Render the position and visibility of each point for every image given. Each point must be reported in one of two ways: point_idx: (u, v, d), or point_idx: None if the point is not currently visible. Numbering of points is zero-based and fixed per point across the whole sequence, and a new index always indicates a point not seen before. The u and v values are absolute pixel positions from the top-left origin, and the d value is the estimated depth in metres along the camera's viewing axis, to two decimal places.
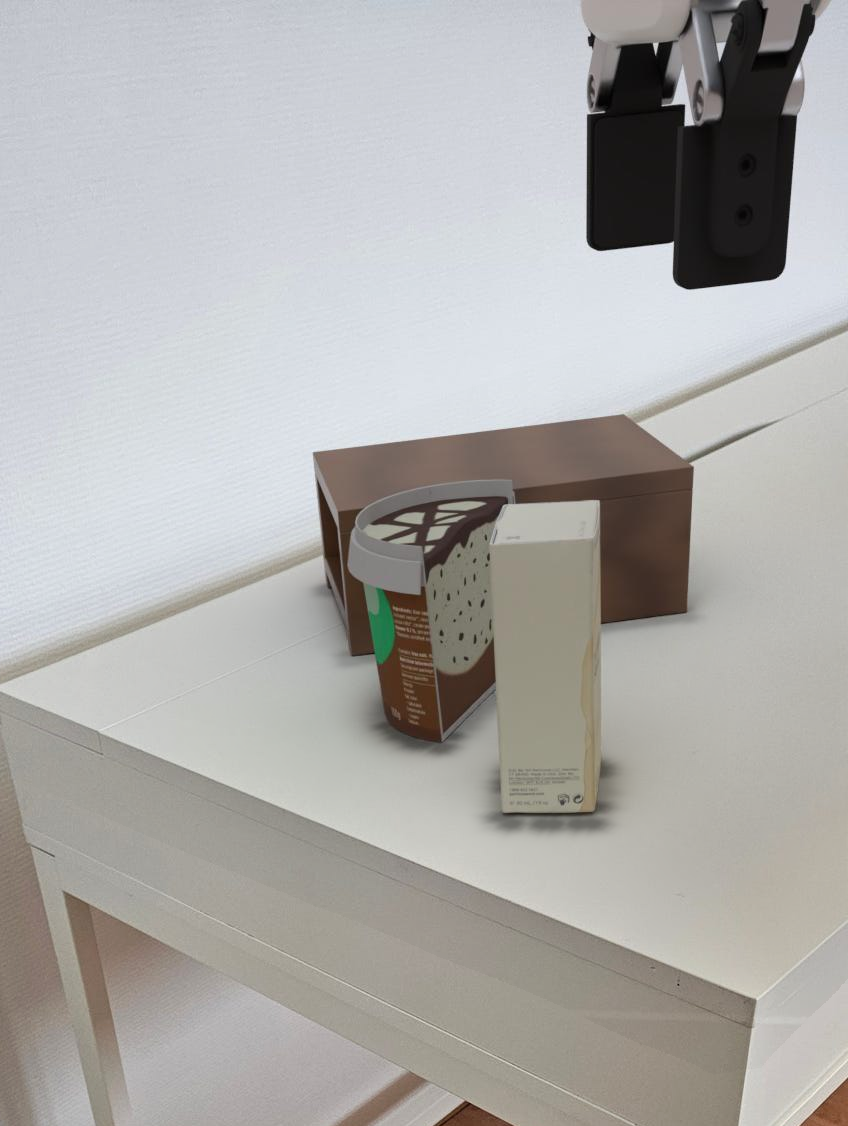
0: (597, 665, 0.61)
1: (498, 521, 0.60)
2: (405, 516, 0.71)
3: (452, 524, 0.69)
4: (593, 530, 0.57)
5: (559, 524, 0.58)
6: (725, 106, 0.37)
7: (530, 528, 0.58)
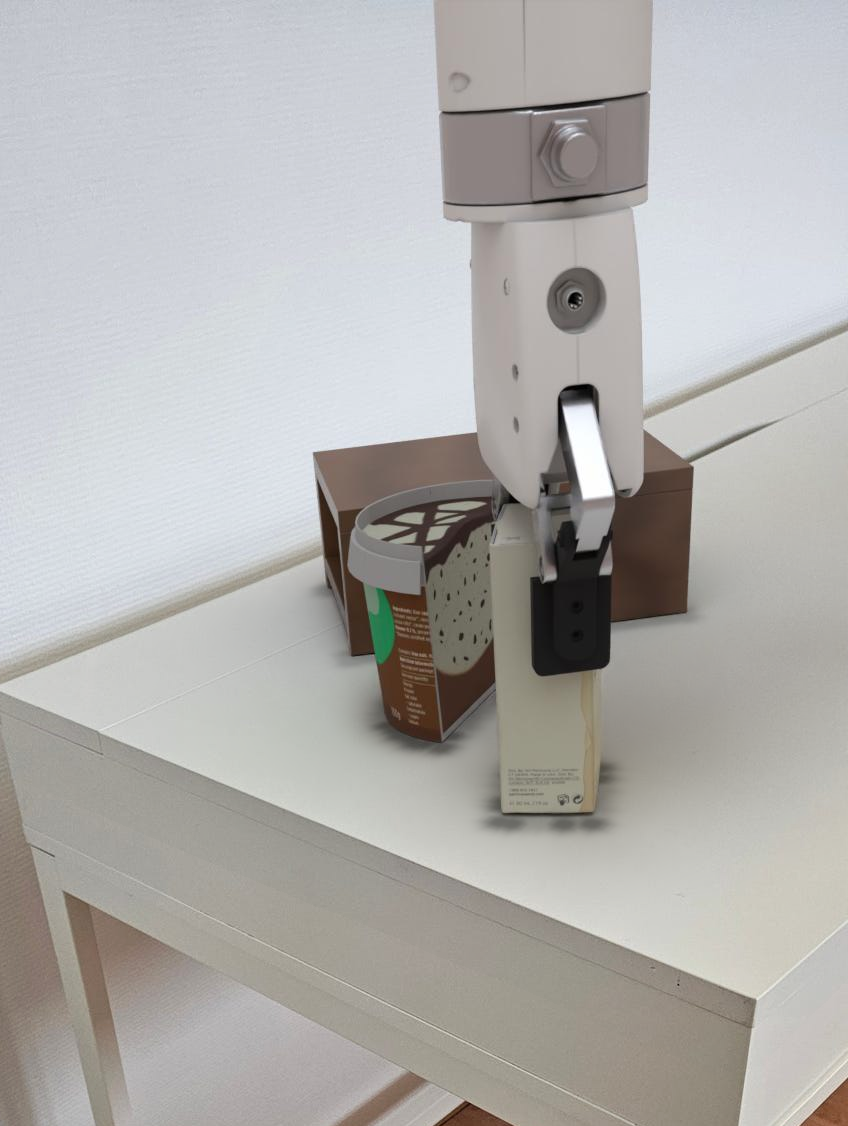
0: None
1: (498, 521, 0.59)
2: (405, 516, 0.71)
3: (452, 524, 0.69)
4: None
5: (559, 524, 0.58)
6: (558, 575, 0.55)
7: (530, 528, 0.58)
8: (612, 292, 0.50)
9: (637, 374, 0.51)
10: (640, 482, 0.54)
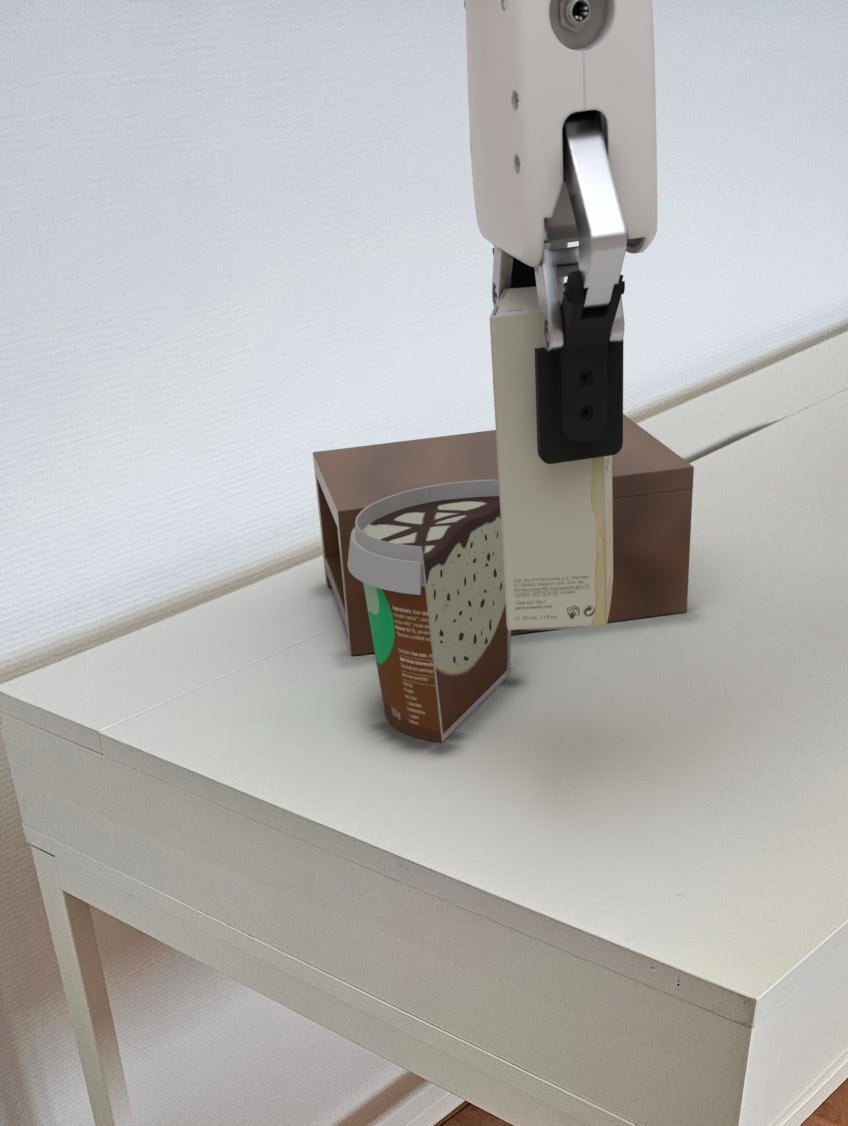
0: (608, 461, 0.57)
1: (499, 300, 0.55)
2: (405, 516, 0.71)
3: (452, 524, 0.69)
4: None
5: None
6: (565, 339, 0.50)
7: (534, 302, 0.53)
8: None
9: (650, 99, 0.47)
10: (653, 230, 0.49)
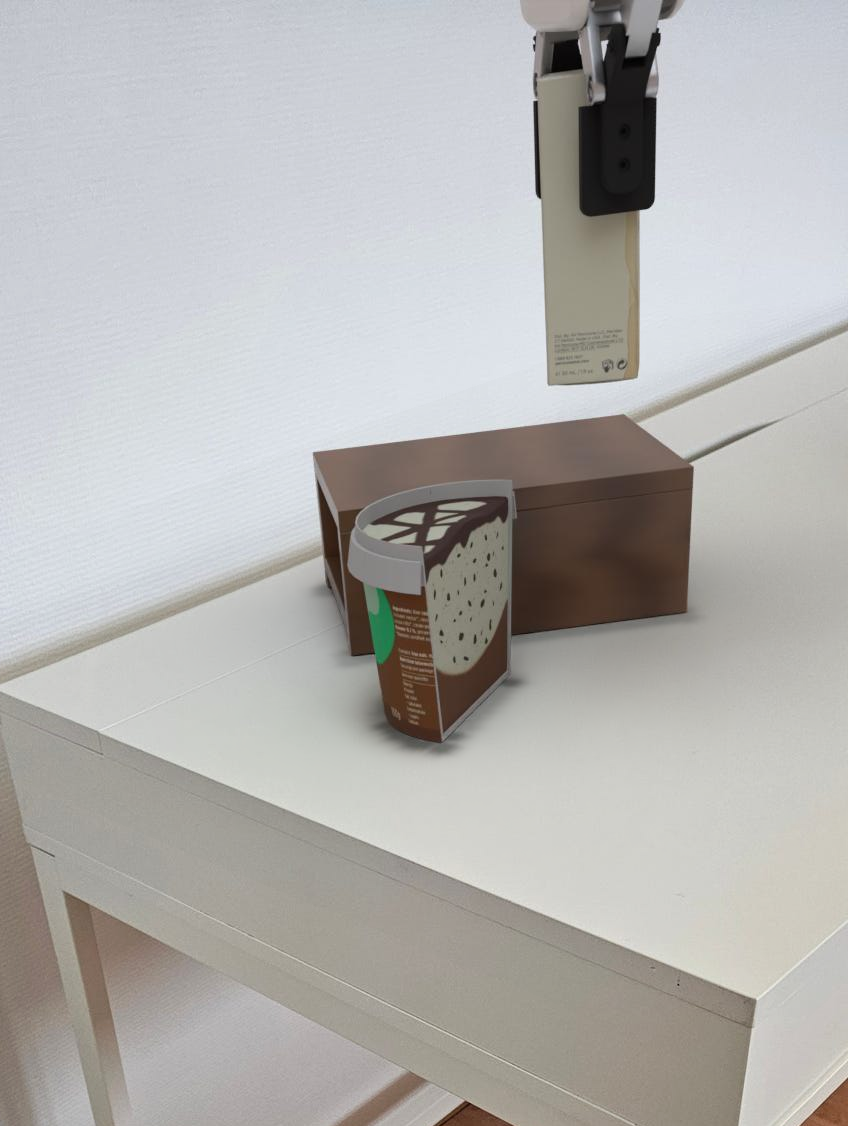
0: None
1: None
2: (405, 516, 0.71)
3: (452, 524, 0.69)
4: None
5: None
6: (607, 92, 0.57)
7: (575, 73, 0.60)
8: None
9: None
10: None
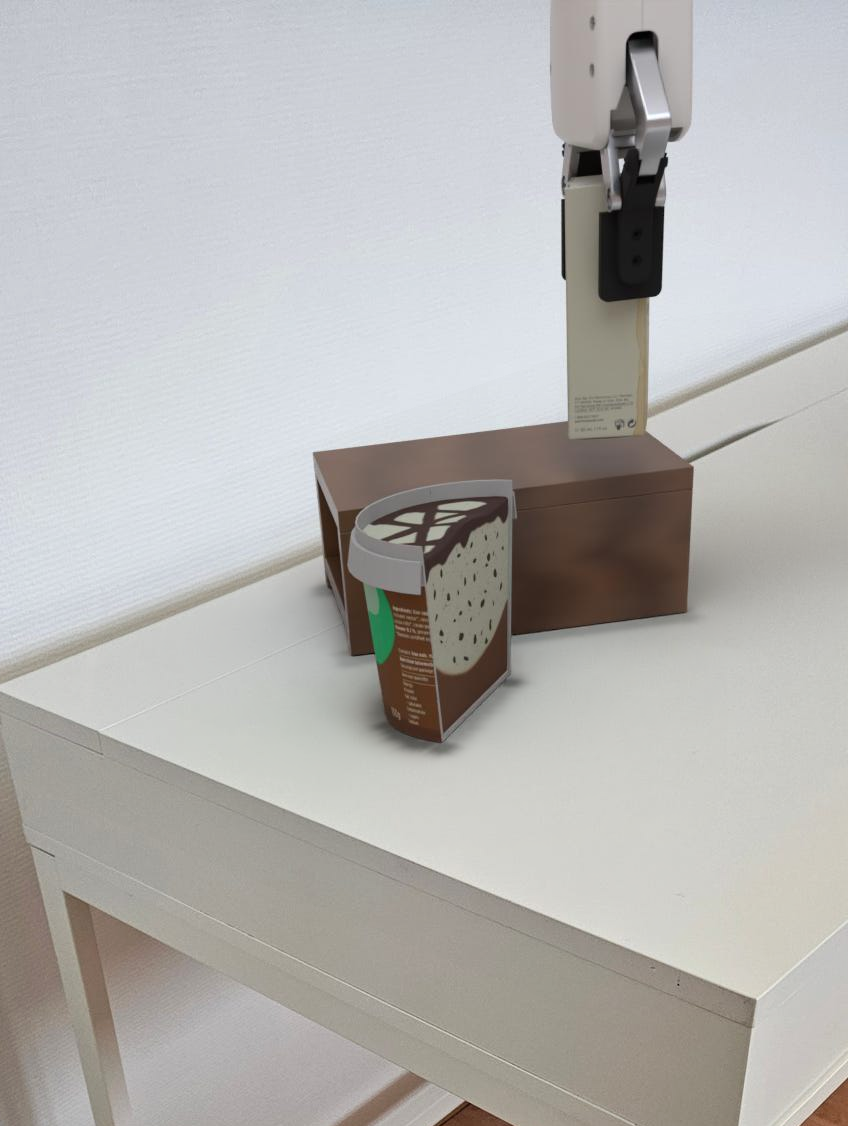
0: (648, 307, 0.75)
1: (569, 182, 0.73)
2: (405, 516, 0.71)
3: (452, 524, 0.69)
4: None
5: None
6: (623, 202, 0.69)
7: (596, 181, 0.72)
8: None
9: (688, 24, 0.65)
10: (688, 122, 0.67)
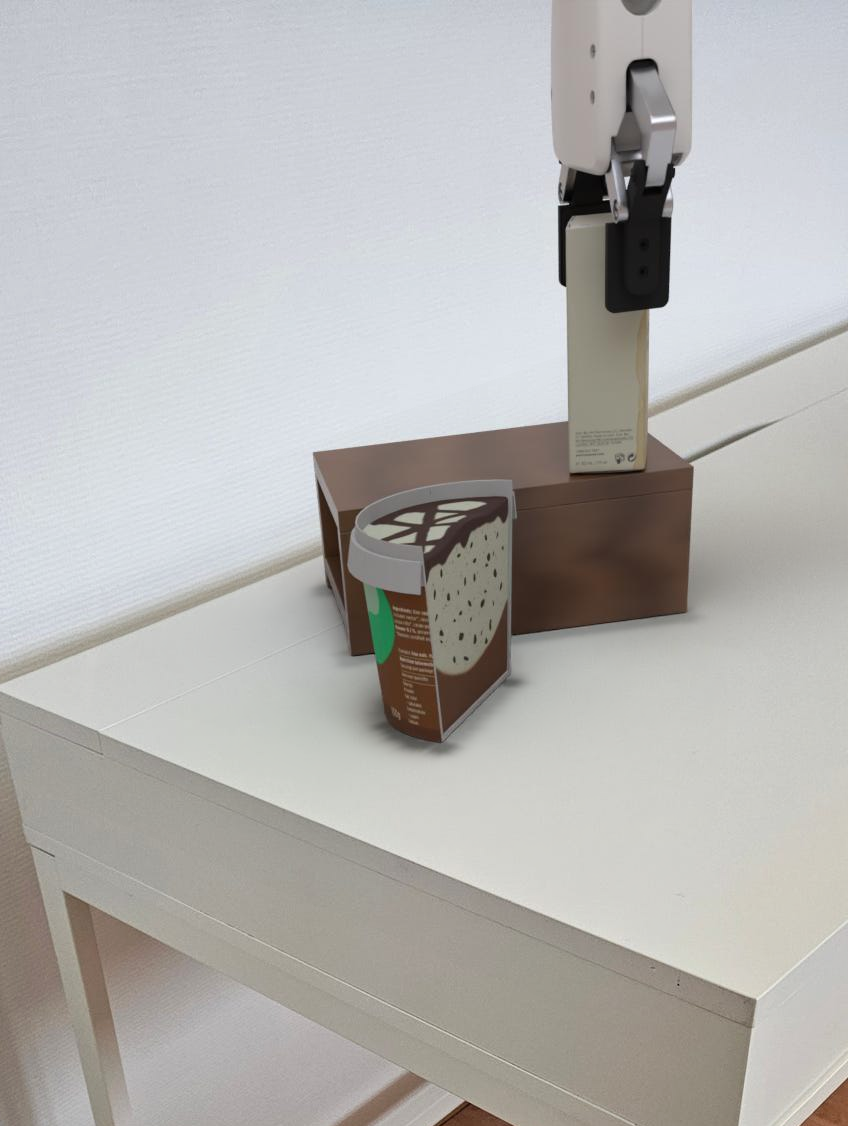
0: None
1: (570, 221, 0.74)
2: (405, 516, 0.71)
3: (452, 524, 0.69)
4: None
5: None
6: (630, 213, 0.68)
7: (597, 221, 0.73)
8: None
9: (688, 52, 0.66)
10: (688, 148, 0.68)
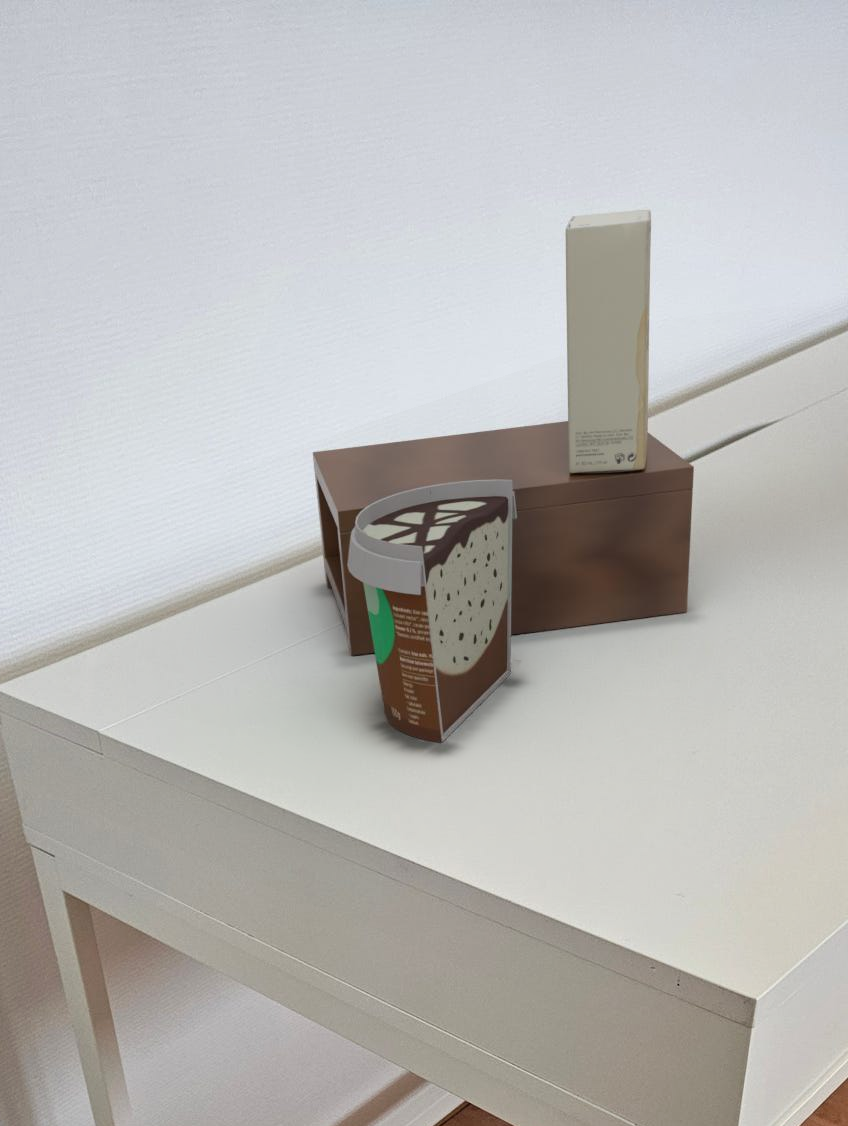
0: None
1: (570, 221, 0.74)
2: (405, 516, 0.71)
3: (452, 524, 0.69)
4: (647, 219, 0.72)
5: (619, 218, 0.73)
6: None
7: (597, 221, 0.73)
8: None
9: None
10: None
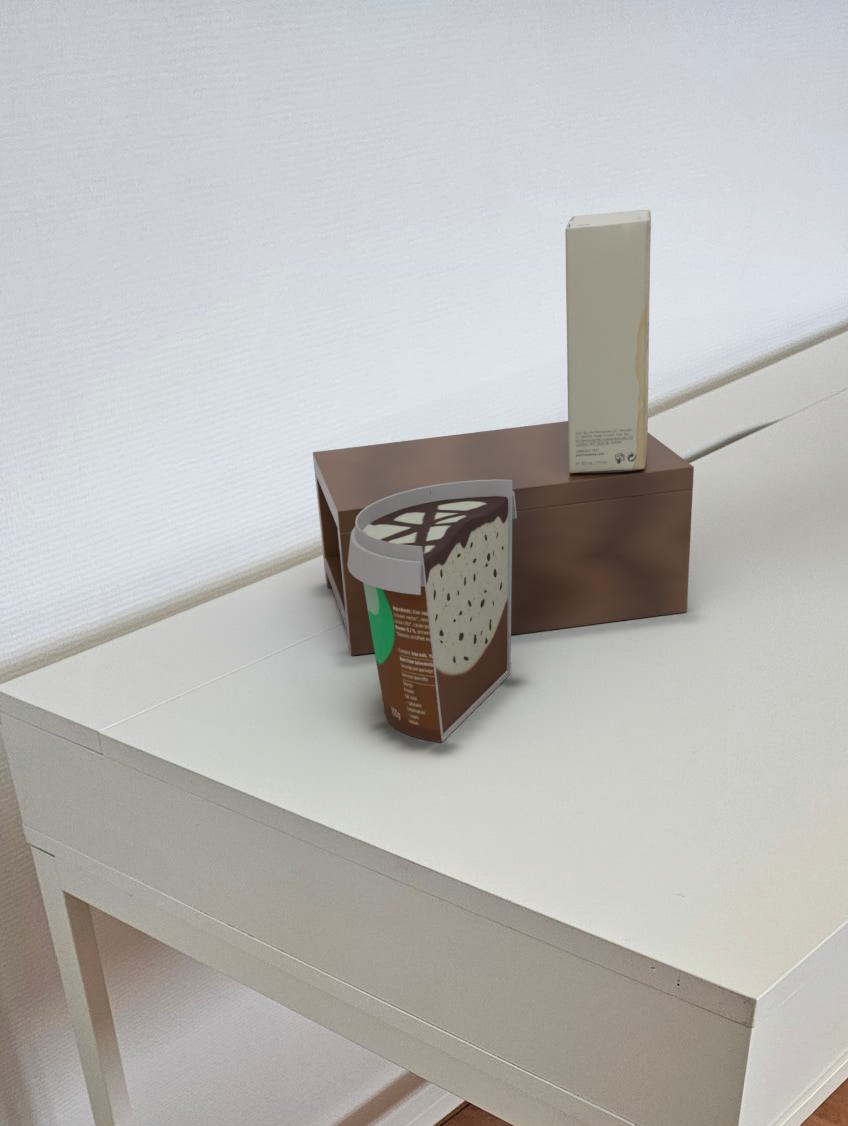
0: None
1: (570, 221, 0.74)
2: (405, 516, 0.71)
3: (452, 524, 0.69)
4: (647, 219, 0.72)
5: (619, 218, 0.73)
6: None
7: (596, 221, 0.73)
8: None
9: None
10: None
